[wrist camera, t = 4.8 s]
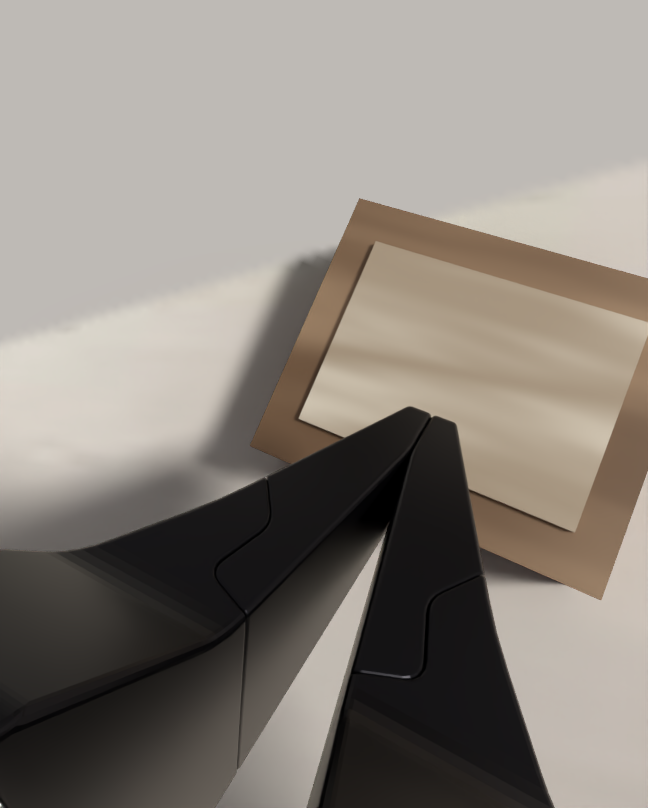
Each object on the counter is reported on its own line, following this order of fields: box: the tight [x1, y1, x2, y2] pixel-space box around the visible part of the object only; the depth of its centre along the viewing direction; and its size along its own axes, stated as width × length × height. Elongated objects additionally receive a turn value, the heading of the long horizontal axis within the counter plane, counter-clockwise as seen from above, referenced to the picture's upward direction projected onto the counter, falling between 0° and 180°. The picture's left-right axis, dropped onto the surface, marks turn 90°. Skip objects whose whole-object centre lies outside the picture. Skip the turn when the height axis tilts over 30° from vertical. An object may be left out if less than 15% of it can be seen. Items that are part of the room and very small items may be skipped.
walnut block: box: [250, 199, 648, 600], centre depth 15 cm, size 3×9×8 cm
